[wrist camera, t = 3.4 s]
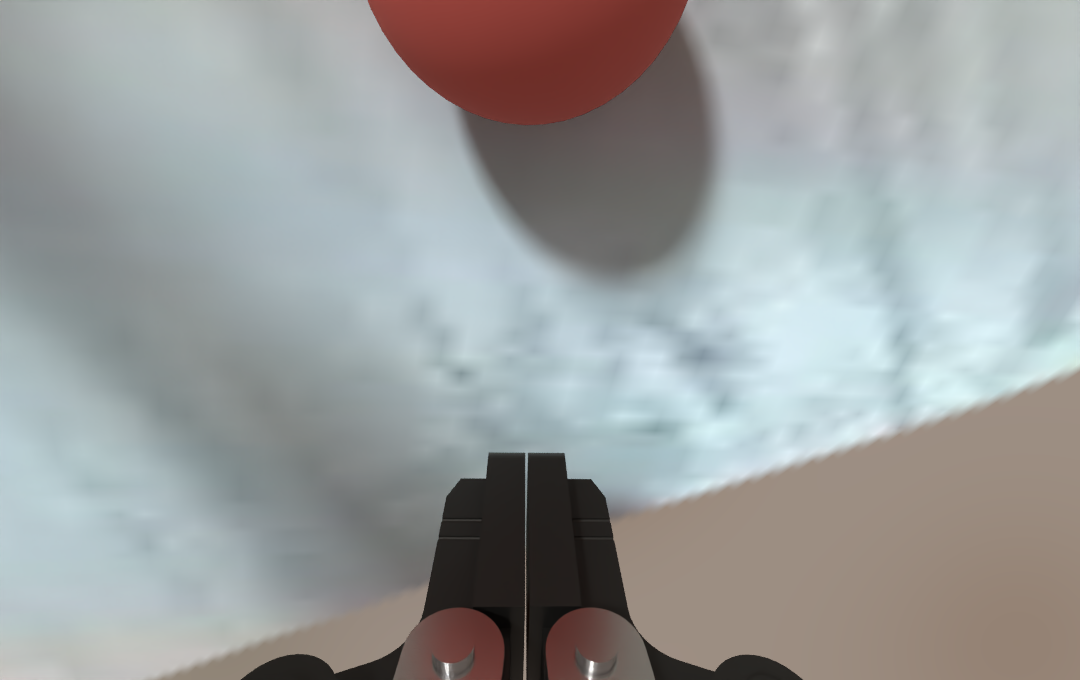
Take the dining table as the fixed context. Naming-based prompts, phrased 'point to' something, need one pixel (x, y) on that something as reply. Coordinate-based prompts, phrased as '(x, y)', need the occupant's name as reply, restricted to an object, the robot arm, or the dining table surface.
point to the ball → (528, 51)
